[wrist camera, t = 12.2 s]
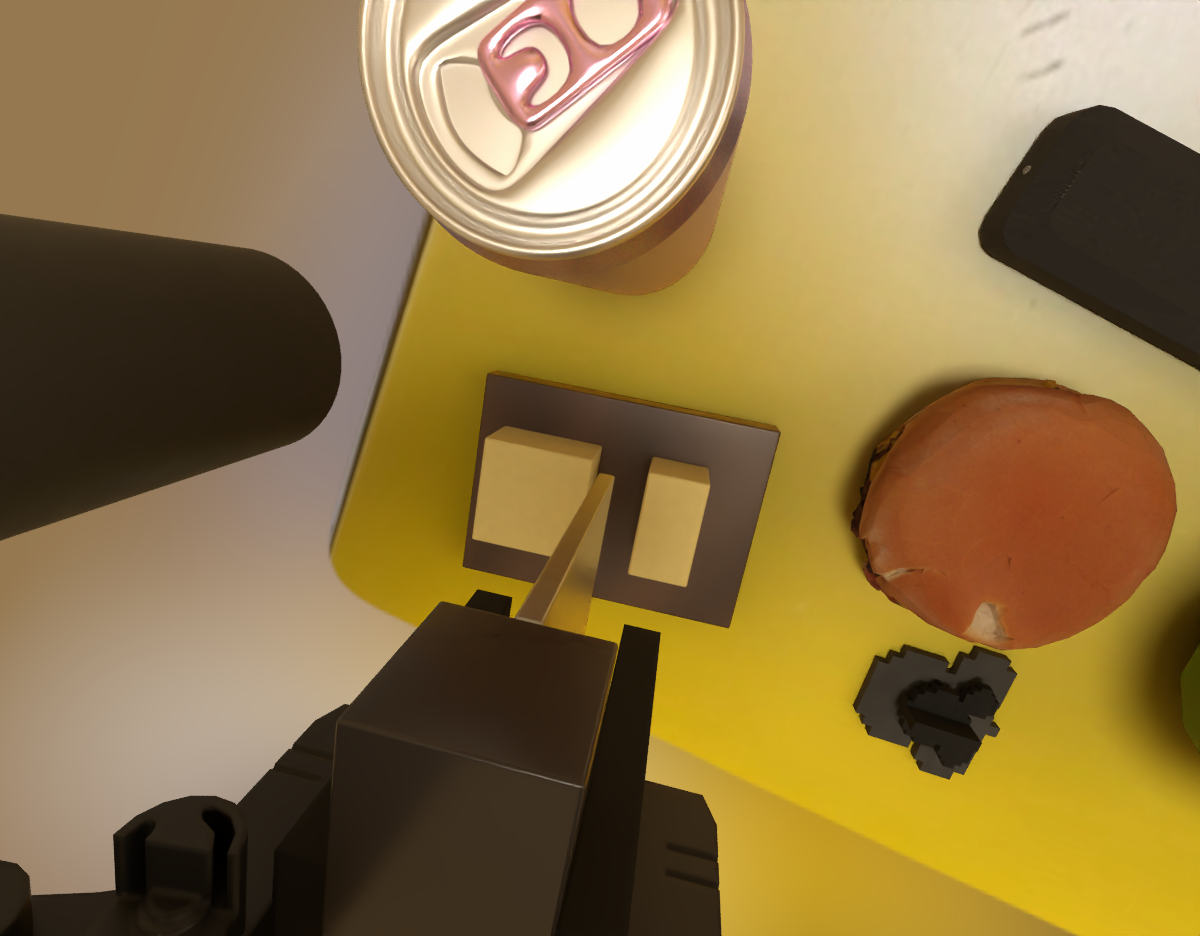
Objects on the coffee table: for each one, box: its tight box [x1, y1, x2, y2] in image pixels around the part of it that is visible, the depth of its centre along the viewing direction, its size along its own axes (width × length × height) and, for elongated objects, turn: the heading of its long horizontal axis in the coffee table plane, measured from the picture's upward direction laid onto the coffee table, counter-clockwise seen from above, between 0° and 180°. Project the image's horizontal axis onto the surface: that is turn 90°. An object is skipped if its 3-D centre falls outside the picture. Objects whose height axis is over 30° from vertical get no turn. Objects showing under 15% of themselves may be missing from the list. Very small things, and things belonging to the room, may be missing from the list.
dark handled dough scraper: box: [321, 473, 618, 936], centre depth 11 cm, size 7×2×10 cm, turn 170°
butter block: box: [472, 426, 602, 557], centre depth 24 cm, size 4×4×2 cm
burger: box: [851, 378, 1177, 650], centre depth 22 cm, size 10×9×5 cm
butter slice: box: [628, 457, 710, 587], centre depth 23 cm, size 2×4×2 cm, turn 170°
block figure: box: [853, 645, 1017, 780], centre depth 25 cm, size 6×2×6 cm
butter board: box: [463, 371, 780, 628], centre depth 25 cm, size 12×8×1 cm
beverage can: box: [358, 0, 752, 295], centre depth 16 cm, size 6×6×15 cm
